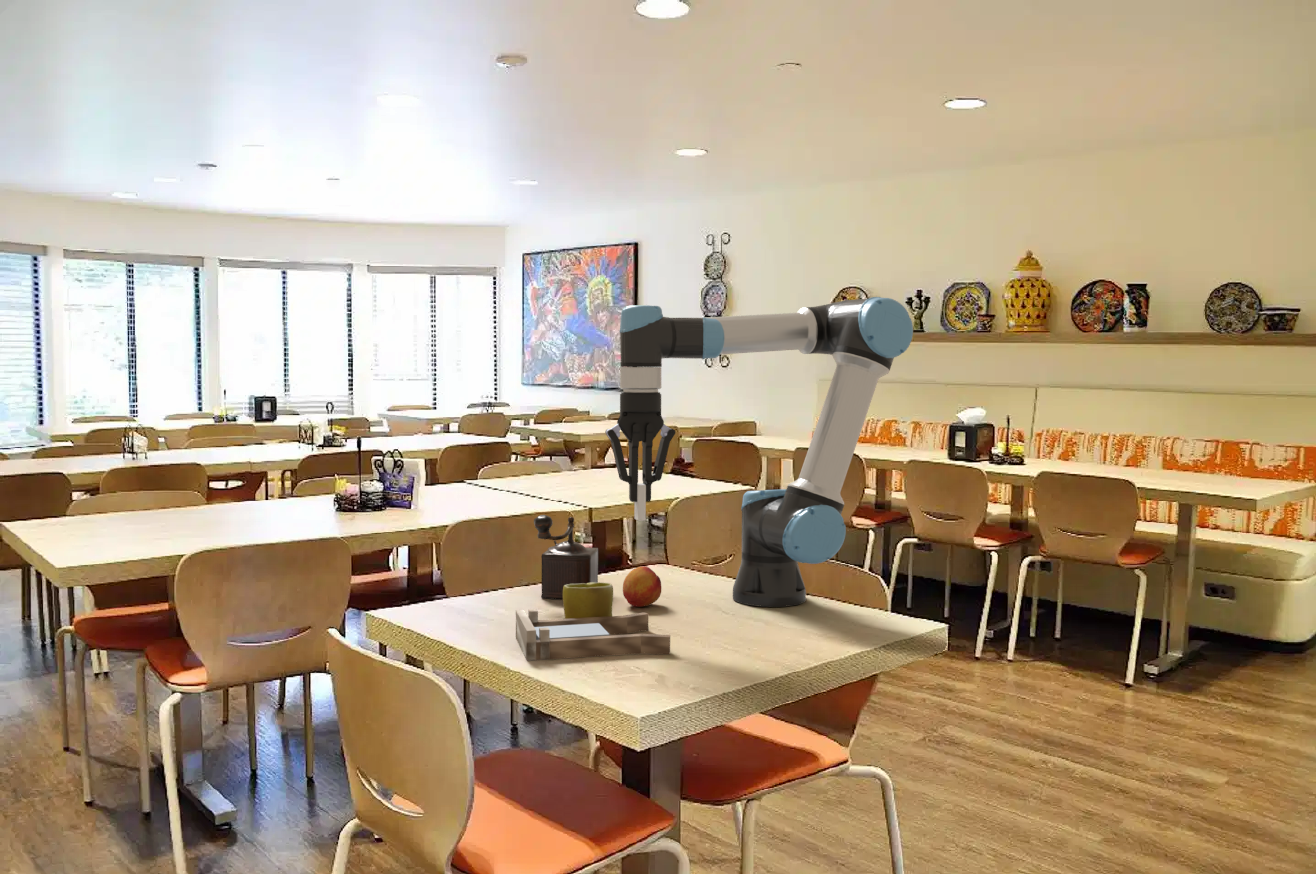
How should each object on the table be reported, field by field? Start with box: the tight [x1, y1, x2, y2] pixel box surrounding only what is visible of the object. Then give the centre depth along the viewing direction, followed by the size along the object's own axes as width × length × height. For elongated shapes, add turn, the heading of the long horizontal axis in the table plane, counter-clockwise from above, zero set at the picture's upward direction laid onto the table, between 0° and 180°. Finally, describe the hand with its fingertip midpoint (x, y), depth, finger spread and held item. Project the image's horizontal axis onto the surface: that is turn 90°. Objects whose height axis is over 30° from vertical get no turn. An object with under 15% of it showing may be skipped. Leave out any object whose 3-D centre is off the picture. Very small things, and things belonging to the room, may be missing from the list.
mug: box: [562, 581, 614, 619], centre depth 204 cm, size 12×10×10 cm
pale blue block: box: [534, 623, 611, 640], centre depth 188 cm, size 12×8×4 cm, turn 106°
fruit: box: [622, 565, 662, 608], centre depth 221 cm, size 8×8×8 cm
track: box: [515, 608, 671, 661], centre depth 191 cm, size 24×18×5 cm
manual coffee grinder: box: [533, 514, 599, 601], centre depth 228 cm, size 16×11×18 cm
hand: (640, 519), depth 201 cm, fingers closed
